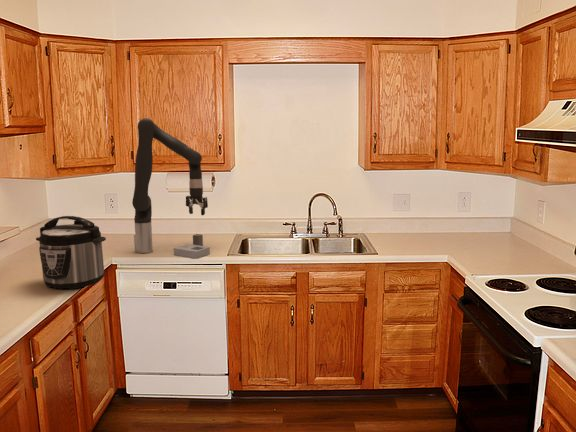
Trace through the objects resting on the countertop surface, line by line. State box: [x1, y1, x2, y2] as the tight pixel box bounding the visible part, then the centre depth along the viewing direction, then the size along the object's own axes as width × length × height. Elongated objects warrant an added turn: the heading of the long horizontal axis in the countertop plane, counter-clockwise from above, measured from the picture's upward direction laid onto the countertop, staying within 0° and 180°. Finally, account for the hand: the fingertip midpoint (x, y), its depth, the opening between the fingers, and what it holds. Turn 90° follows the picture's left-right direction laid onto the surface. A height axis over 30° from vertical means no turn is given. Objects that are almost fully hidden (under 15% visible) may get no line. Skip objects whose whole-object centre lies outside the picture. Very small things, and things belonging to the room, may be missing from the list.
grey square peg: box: [192, 233, 204, 246], centre depth 328 cm, size 4×4×8 cm
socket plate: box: [173, 243, 211, 260], centre depth 315 cm, size 16×12×4 cm
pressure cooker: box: [35, 215, 107, 290], centre depth 263 cm, size 30×28×32 cm
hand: (197, 214), depth 325 cm, fingers open, 8 cm apart
